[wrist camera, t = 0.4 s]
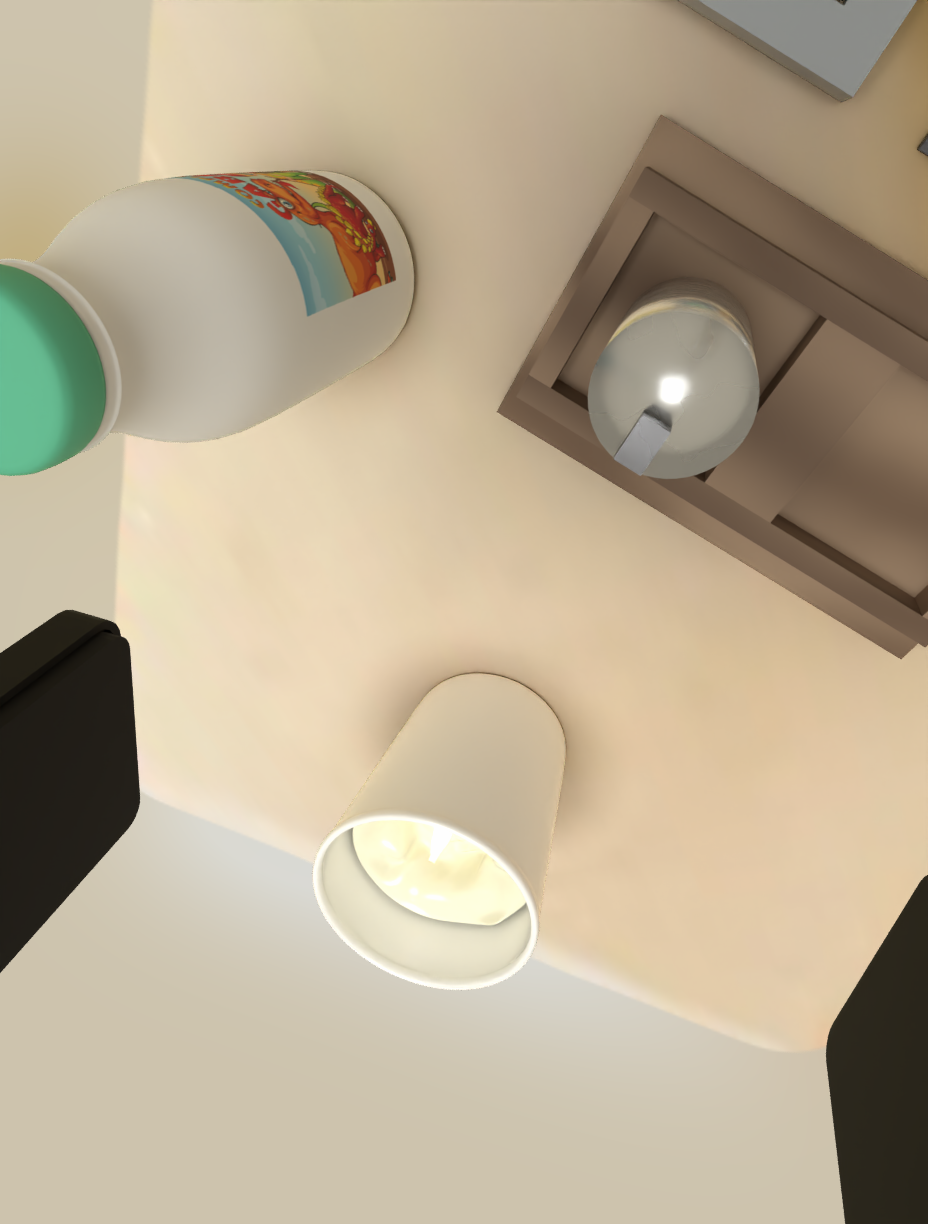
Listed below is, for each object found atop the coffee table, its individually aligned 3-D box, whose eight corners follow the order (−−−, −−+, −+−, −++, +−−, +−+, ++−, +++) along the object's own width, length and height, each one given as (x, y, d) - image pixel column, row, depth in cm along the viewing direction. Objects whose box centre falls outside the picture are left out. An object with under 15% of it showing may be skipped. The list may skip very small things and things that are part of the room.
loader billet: (664, 250, 30) (645, 280, 23) (780, 322, 31) (798, 374, 23) (591, 369, 33) (554, 430, 26) (699, 435, 33) (691, 515, 26)
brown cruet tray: (663, 115, 30) (657, 112, 27) (1138, 411, 30) (1173, 433, 28) (503, 404, 36) (487, 422, 34) (896, 645, 36) (907, 679, 34)
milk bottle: (441, 342, 35) (183, 515, 18) (287, 383, 38) (-62, 564, 21) (386, 142, 32) (15, 129, 15) (222, 201, 35) (-245, 246, 18)
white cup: (372, 683, 45) (270, 837, 35) (536, 637, 41) (475, 795, 31) (450, 822, 48) (377, 999, 38) (609, 791, 44) (575, 981, 34)
